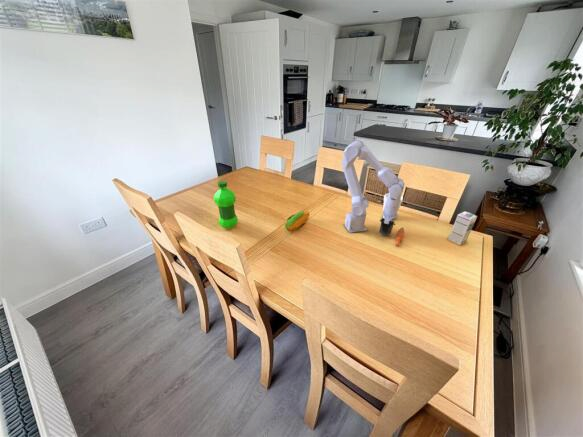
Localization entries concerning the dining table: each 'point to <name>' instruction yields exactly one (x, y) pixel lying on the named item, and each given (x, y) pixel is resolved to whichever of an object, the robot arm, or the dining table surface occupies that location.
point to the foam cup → (386, 200)
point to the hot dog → (296, 221)
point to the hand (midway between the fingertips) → (385, 229)
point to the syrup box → (462, 227)
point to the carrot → (399, 236)
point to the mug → (388, 230)
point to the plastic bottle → (226, 206)
